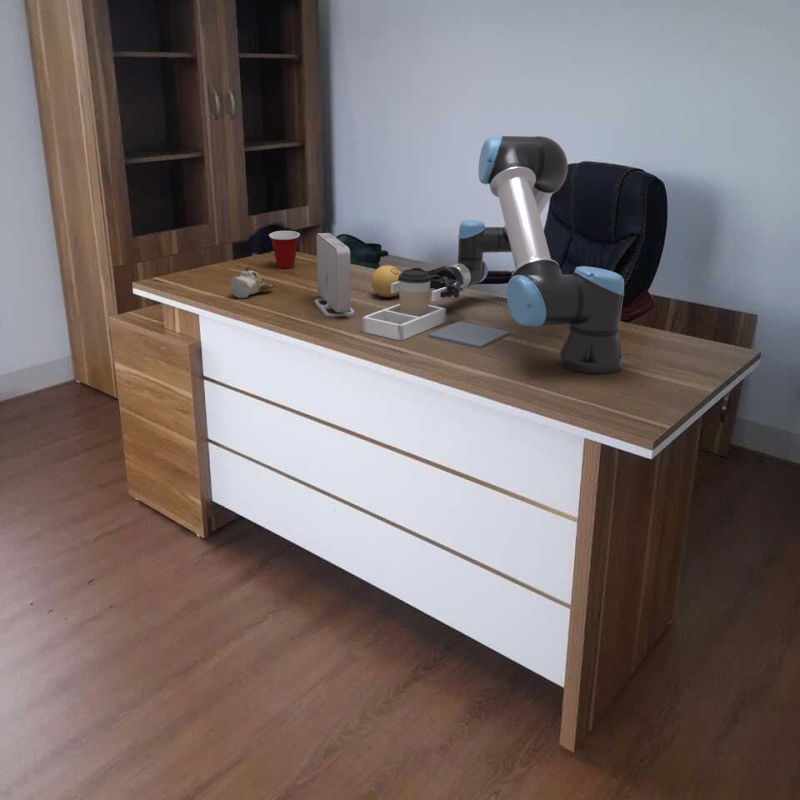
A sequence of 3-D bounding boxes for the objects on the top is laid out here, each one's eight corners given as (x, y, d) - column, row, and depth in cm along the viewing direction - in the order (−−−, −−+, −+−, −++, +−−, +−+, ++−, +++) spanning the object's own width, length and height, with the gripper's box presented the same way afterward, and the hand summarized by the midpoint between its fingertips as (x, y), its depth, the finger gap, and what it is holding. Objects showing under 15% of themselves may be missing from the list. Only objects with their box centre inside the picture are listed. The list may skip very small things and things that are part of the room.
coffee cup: (426, 328, 225) (428, 275, 219) (394, 326, 226) (395, 272, 221) (432, 320, 233) (434, 267, 227) (400, 317, 234) (402, 265, 229)
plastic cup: (265, 269, 287) (264, 235, 282) (275, 263, 297) (274, 230, 292) (295, 271, 285) (295, 237, 281) (304, 265, 295) (303, 231, 291)
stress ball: (392, 302, 250) (393, 270, 246) (365, 297, 254) (365, 265, 250) (408, 295, 258) (409, 264, 254) (381, 291, 262) (382, 260, 258)
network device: (310, 297, 253) (309, 232, 245) (337, 296, 255) (337, 231, 248) (329, 320, 230) (328, 249, 223) (359, 318, 233) (359, 248, 225)
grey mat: (509, 333, 222) (509, 331, 222) (480, 348, 210) (480, 346, 210) (458, 323, 230) (459, 321, 230) (427, 336, 218) (428, 334, 218)
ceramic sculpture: (219, 269, 248) (247, 262, 261) (220, 297, 250) (248, 289, 263) (249, 273, 244) (276, 266, 257) (249, 302, 246) (276, 294, 260)
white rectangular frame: (445, 322, 231) (446, 308, 230) (401, 340, 214) (401, 326, 213) (407, 314, 238) (407, 300, 236) (361, 331, 221) (361, 317, 220)
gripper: (488, 298, 237) (449, 313, 221) (417, 284, 250) (375, 298, 234) (490, 272, 234) (451, 286, 218) (417, 260, 247) (375, 272, 231)
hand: (411, 292), depth 226 cm, fingers open, 13 cm apart
